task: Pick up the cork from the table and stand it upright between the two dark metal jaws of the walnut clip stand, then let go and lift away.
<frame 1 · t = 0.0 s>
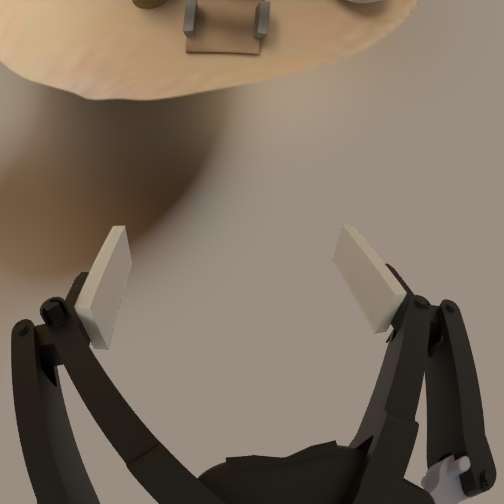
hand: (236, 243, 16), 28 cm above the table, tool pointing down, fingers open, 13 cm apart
clip stand: (224, 22, 29), on the table
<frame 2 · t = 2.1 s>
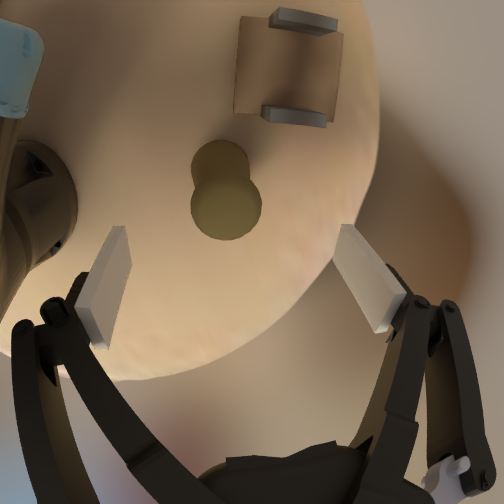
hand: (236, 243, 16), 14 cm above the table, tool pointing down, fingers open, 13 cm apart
clip stand: (287, 68, 23), on the table
cork: (220, 167, 28), on the table
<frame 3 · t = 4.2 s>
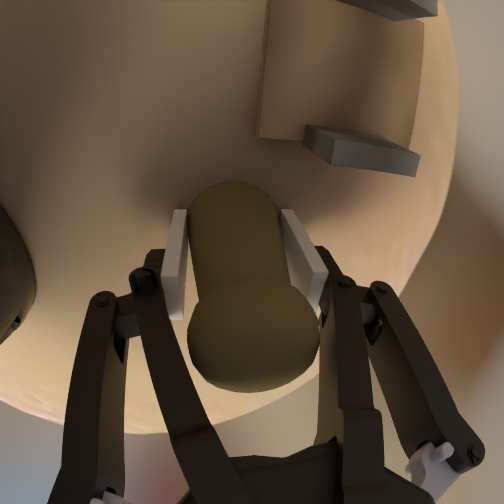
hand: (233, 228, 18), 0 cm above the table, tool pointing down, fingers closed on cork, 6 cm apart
clip stand: (344, 66, 13), on the table
cork: (232, 223, 18), on the table, touching gripper
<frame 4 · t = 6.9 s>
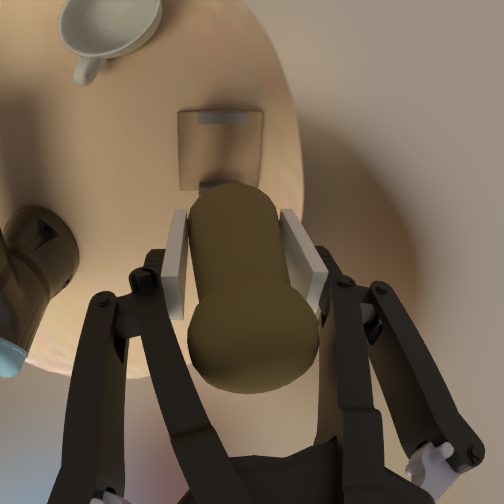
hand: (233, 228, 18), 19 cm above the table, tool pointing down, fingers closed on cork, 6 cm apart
clip stand: (219, 149, 33), on the table
teacup: (119, 33, 22), on the table
cork: (232, 224, 18), point 19 cm above the table, touching gripper
when the fingers open (3 cm above the table, at t = 9.6 s): cork drops 1 cm, resting on clip stand.
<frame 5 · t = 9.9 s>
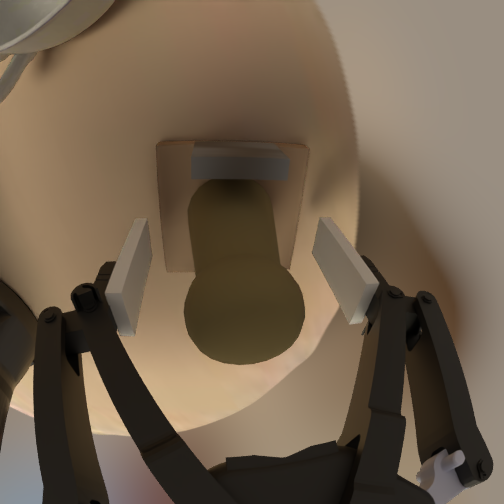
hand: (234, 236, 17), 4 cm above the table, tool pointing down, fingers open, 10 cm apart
clip stand: (229, 207, 20), on the table
teacup: (64, 9, 10), on the table
cork: (230, 214, 20), point 1 cm above the table, touching clip stand
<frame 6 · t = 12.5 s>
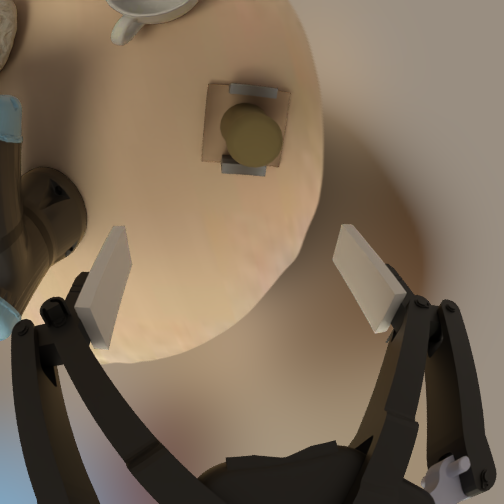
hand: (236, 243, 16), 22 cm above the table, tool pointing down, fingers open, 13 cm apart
clip stand: (244, 124, 33), on the table
teacup: (157, 4, 22), on the table
cork: (244, 126, 32), point 1 cm above the table, touching clip stand
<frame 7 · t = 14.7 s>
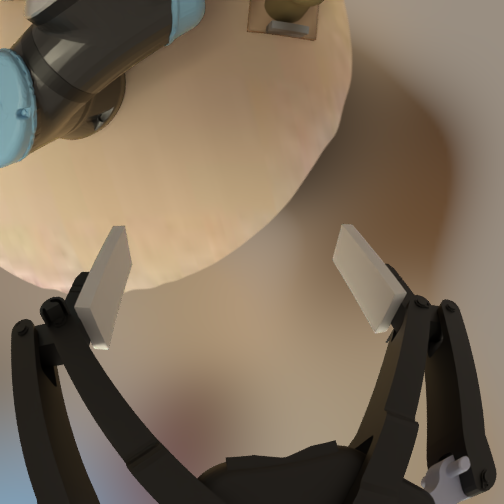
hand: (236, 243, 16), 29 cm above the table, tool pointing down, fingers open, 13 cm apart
clip stand: (283, 7, 28), on the table
cork: (284, 6, 28), point 1 cm above the table, touching clip stand
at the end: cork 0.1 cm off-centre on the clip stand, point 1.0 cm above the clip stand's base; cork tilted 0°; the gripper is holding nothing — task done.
